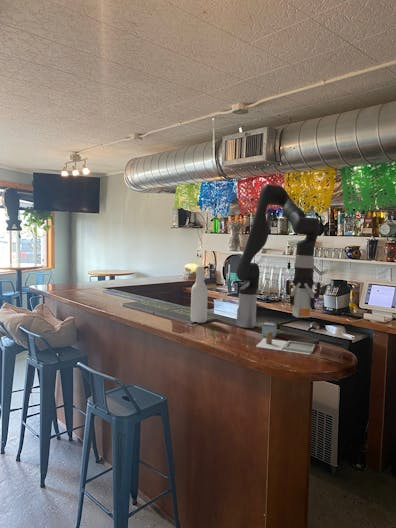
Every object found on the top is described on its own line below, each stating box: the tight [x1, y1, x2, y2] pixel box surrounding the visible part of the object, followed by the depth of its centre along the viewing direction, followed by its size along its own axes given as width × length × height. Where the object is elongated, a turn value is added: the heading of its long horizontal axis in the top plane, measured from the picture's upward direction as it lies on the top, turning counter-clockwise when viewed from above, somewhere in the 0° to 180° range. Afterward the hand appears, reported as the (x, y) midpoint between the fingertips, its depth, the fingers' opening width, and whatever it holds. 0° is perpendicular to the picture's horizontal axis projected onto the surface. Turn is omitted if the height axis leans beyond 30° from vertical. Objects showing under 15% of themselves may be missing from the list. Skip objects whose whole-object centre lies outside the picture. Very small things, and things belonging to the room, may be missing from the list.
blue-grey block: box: [261, 321, 278, 339], centre depth 184 cm, size 6×6×7 cm
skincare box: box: [292, 287, 313, 318], centre depth 164 cm, size 6×4×12 cm
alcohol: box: [190, 265, 209, 324], centre depth 214 cm, size 9×9×30 cm
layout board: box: [255, 331, 316, 356], centre depth 168 cm, size 23×15×6 cm, turn 67°
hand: (301, 305), depth 164 cm, fingers closed on skincare box, 7 cm apart
